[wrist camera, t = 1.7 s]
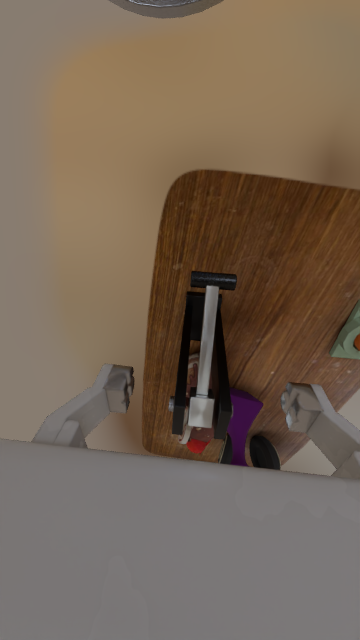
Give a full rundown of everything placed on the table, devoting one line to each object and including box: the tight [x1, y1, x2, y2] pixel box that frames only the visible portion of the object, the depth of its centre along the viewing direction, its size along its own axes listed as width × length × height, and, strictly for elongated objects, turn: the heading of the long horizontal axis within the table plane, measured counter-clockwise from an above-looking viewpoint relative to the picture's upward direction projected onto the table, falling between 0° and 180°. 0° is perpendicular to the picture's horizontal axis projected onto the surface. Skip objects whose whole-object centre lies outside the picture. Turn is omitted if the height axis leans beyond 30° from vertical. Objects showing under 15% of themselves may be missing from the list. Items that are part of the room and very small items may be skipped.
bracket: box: [169, 292, 233, 440], centre depth 28 cm, size 8×6×18 cm
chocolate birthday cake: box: [177, 352, 214, 456], centre depth 35 cm, size 9×8×15 cm
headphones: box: [218, 435, 281, 470], centre depth 45 cm, size 9×15×20 cm, turn 85°
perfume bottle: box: [227, 387, 263, 467], centre depth 38 cm, size 8×8×18 cm
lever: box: [188, 271, 237, 428], centre depth 21 cm, size 14×4×2 cm, turn 177°
